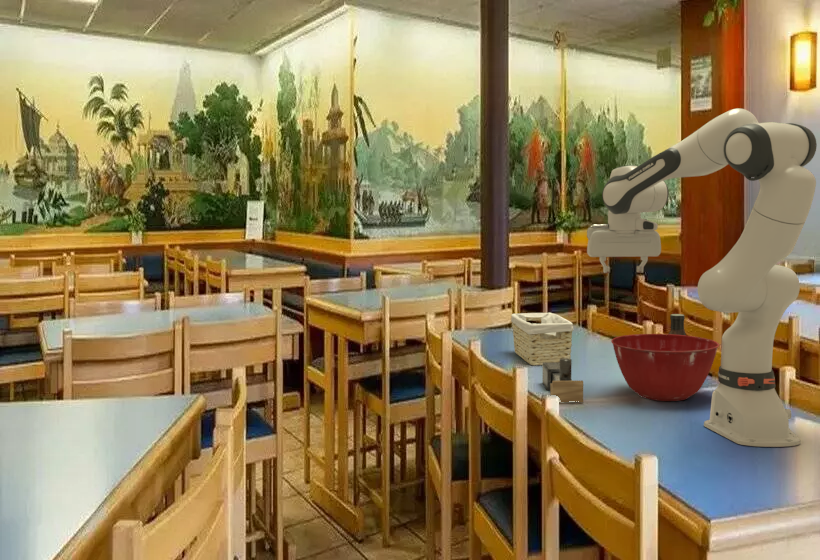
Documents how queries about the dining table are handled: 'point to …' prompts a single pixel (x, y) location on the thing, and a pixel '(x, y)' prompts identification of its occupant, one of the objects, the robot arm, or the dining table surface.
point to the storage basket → (542, 337)
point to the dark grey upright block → (563, 371)
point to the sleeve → (549, 372)
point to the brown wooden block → (567, 390)
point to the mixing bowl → (664, 364)
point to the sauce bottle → (677, 324)
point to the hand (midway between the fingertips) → (623, 272)
